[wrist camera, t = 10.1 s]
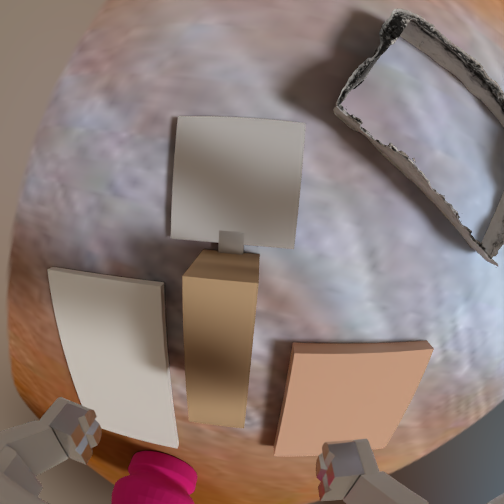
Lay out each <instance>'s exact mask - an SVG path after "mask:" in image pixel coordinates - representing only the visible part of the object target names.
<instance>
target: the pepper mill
mask: <svg viewBox="0 0 504 504" xmlns="http://www.w3.org/2000/svg"><path fill="white" fill-rule="evenodd" d="M128 472H129V474H130V475H129V476H125V477H123V478H121V479H119V480H118V481H117V482H116V483H115V486H114V489H113V492H112V504H194V502H193V500H192V498H191V497H190V496H189V494H191V493H193V492H194V490H195V486H196V481H197V474H196V472H195V471H194V469H193V468H192V467H191V466H190V465H188V464H187V463H186V462H184V461H182V460H180V459H178V458H176V457H173V456H171V455H168V454H164V453H161V452H156V451H140V452H137V453H135V454H134V455H133V457H132V460H131V462H130V465H129V467H128Z"/></svg>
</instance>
